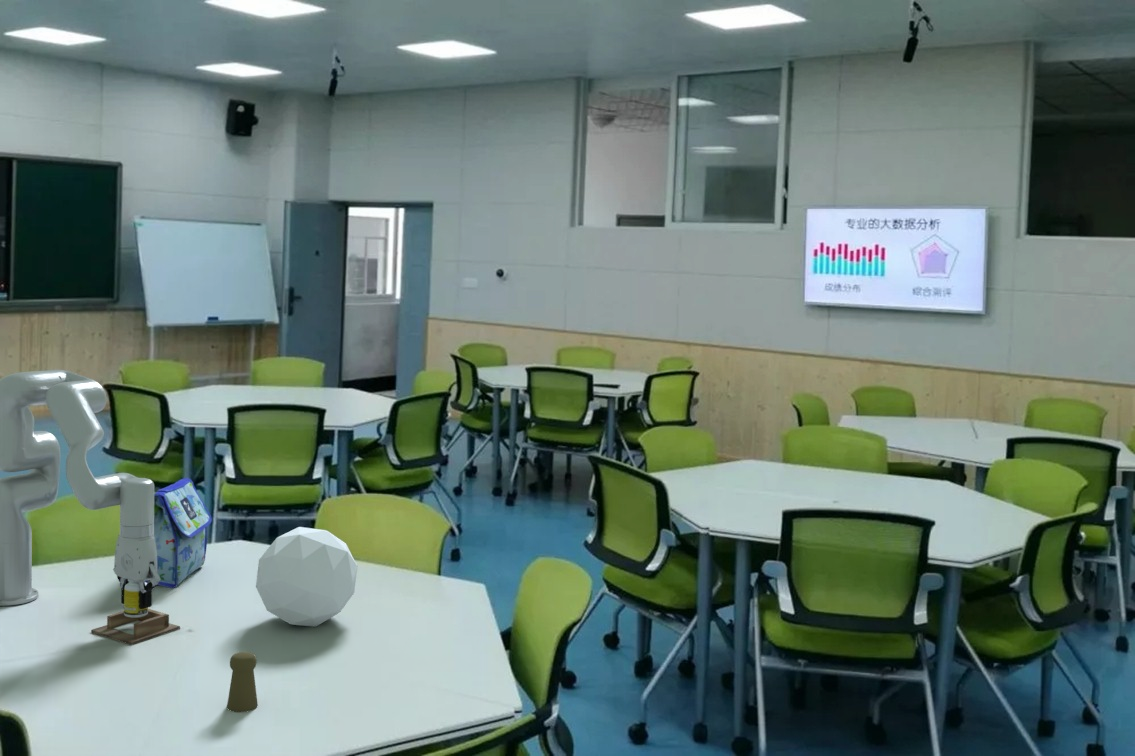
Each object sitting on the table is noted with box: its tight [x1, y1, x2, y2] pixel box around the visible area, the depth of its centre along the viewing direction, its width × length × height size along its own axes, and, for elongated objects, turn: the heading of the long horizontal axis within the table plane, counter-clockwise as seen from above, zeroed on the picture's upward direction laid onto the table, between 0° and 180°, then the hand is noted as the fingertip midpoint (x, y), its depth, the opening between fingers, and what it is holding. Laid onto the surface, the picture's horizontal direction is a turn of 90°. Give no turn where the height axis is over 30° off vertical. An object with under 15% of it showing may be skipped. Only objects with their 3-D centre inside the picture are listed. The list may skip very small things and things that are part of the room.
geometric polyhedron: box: [255, 526, 358, 627], centre depth 273 cm, size 24×25×25 cm
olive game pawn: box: [226, 651, 259, 713], centre depth 222 cm, size 6×6×11 cm
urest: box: [90, 608, 181, 646], centre depth 262 cm, size 14×14×4 cm
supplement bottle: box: [123, 579, 149, 618], centre depth 261 cm, size 5×5×10 cm
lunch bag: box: [145, 477, 213, 589], centre depth 304 cm, size 22×17×26 cm
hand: (136, 604), depth 261 cm, fingers closed on supplement bottle, 5 cm apart
